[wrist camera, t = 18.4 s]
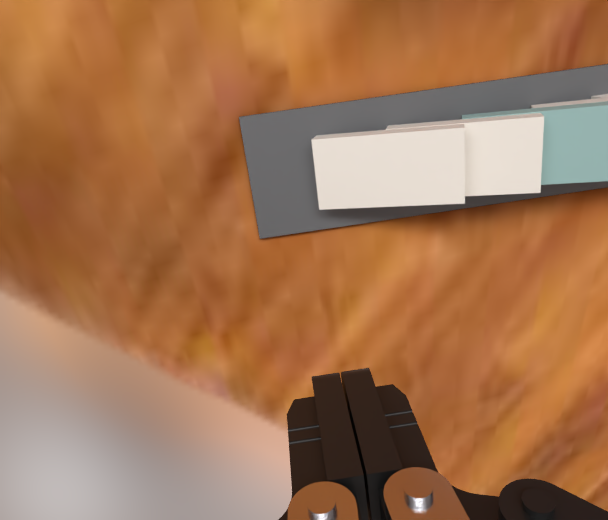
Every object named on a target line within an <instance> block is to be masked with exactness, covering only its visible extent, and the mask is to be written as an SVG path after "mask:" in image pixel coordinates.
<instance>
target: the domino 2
mask: <svg viewBox="0 0 608 520" xmlns="http://www.w3.org/2000/svg"><path fill="white" fill-rule="evenodd" d="M463 123H464V127H465V196H482V195H504V194H525V193H540V192H541V172H542V152H543V132H544V116H543V115H542V114H541V113H531V114H519V115H508V116H496V117H484V118H472V119H460V120H448V121H436V122H424V123H413V124H401V125H389V126H387V128H386V130H389V129H401V128H414V127H426V126H438V125H451V124H463Z"/></svg>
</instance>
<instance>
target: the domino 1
mask: <svg viewBox="0 0 608 520" xmlns="http://www.w3.org/2000/svg"><path fill="white" fill-rule="evenodd" d="M311 141H312V150H313V159H314V168H315V177H316V185H317V194H318V203H319V210H324V209H348V208H372V207H395V206H419V205H443V204H465V127H464V123H463V124H451V125H438V126H426V127H414V128H401V129H389V130H377V131H364V132H352V133H340V134H328V135H316V136H315V137H314V138H313V139H312V140H311Z"/></svg>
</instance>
